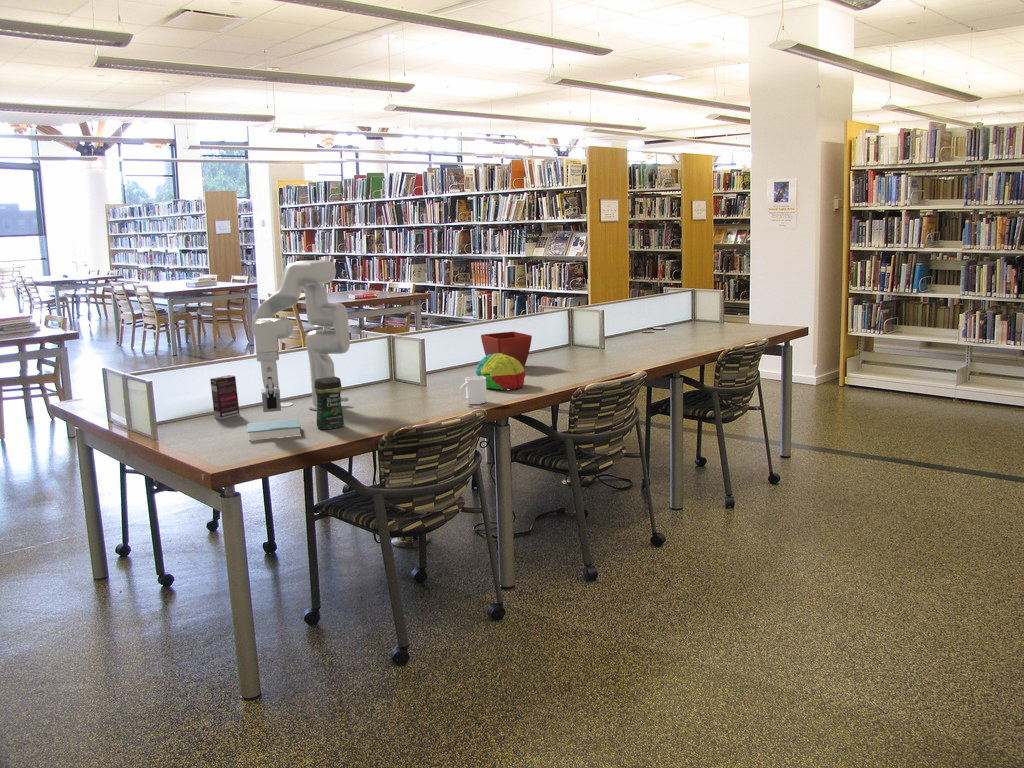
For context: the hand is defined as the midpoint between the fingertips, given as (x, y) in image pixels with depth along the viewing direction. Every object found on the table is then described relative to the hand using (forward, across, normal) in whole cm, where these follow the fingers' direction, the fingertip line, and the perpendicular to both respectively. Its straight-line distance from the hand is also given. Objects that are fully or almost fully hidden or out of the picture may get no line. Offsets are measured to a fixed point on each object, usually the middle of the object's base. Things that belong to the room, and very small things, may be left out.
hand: (271, 406), depth 296 cm
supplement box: (+11, +39, +17) cm, 44 cm away
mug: (+10, +20, -78) cm, 81 cm away
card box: (+1, 0, 0) cm, 1 cm away
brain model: (+10, +48, -98) cm, 110 cm away
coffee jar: (+11, +4, -20) cm, 23 cm away
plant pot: (+10, +90, -114) cm, 146 cm away
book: (+11, +1, 0) cm, 11 cm away
